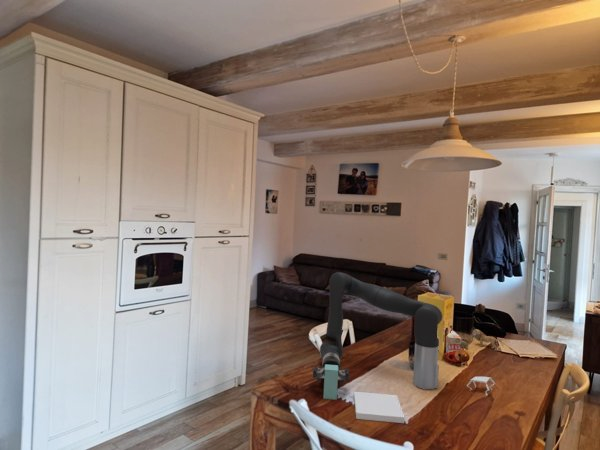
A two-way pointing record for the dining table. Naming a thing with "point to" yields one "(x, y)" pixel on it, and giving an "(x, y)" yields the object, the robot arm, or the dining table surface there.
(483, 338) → the lion figurine
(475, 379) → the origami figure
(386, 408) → the white board
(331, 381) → the teal block
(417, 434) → the dining table surface
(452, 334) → the white printed carton
